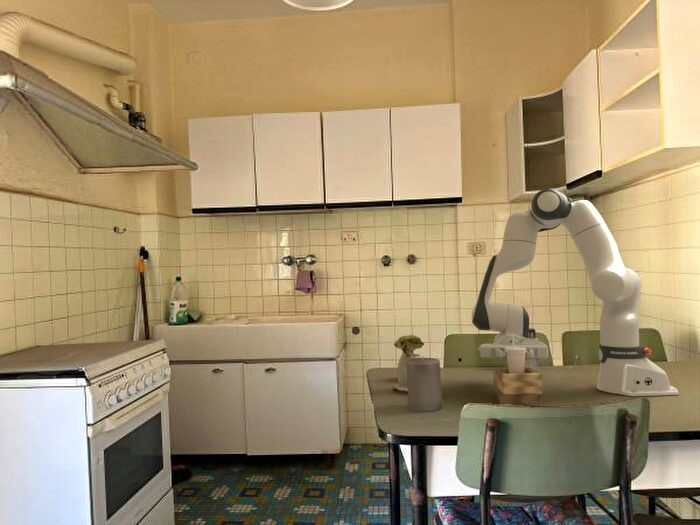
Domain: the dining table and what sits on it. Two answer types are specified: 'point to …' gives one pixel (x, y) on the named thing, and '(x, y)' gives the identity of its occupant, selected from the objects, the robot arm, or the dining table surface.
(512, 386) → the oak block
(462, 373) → the dining table surface
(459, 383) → the dining table surface
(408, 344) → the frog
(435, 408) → the pillar candle
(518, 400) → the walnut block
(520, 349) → the smoothie
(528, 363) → the coffee box
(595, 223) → the robot arm
